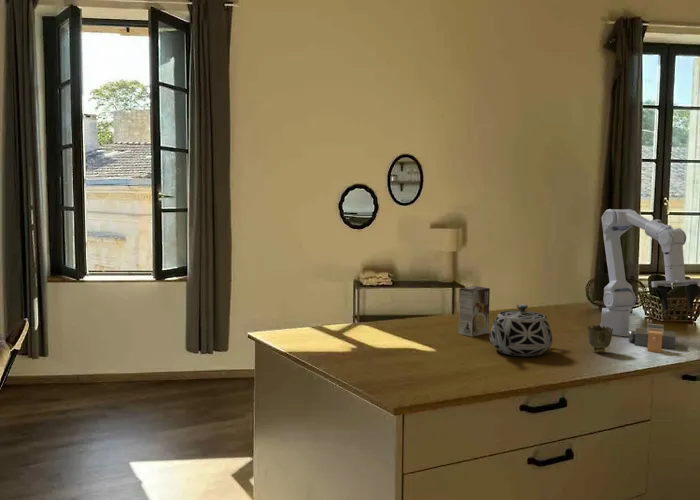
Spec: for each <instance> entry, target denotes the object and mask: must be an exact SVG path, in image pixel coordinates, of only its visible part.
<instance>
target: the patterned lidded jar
mask: <svg viewBox="0 0 700 500" xmlns="http://www.w3.org/2000/svg"><path fill="white" fill-rule="evenodd" d="M516 307H517V309H518V310H504V311H501V312H499V313H498V314H497V315H496V316H497V317H496V318H495V320H492V321H491V323H492V326H491V328H490V332H489V340H490V343H491V345H492V346H493V347H494V348H495V349H496V350H497V351H498V352H499V353H502V354H505V355H509V356H515V357H536V356H541V355H543V354H544V353H545V352H546V351H548V350H549V349H550V348H551V346H552V345H553V334H552V331H551V328H550V325H549V323H548V318H547V315H546V314H542V313H540V312H537V311H536V312H534V311H530V310H529V311H527V309H528V307H529V305H527V304H521V303H520V304H517V305H516Z"/></svg>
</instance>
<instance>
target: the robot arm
mask: <svg viewBox="0 0 700 500" xmlns="http://www.w3.org/2000/svg"><path fill="white" fill-rule="evenodd" d="M601 225H602V232H603V233H602V234H603V236H602V237H603V243H604V250H605V257H606V265H607V272H608V281H609V282H608V283H607V285H605V286H604V288H603V297H602V298H603V304H604V306H605V307H602V309H601V318H600V319H601V320H600V321H601V322H600V324H599V325H600V326H601V327H603V326H605V329H606V327H609V328H611V329H612V328H613V332H612V336H617V337H618V336H619V337H628V338H629V331H630V330H629V328H630V317H631V316H630V315H631V310H632V309H633V307H634V306H635V304H636V301H637V297H636V294H635V292H634V290H633V289H634V288H633V285H632V284H630V283H629V282H628V281H627V280H626V273H625V271H626V270H625V265H624V258H623V251H622V243H621V237H622V235H623V234H624V233H626V232H627V231H628V230H629V229H630V228H632V227H633V226H635V227H637V228H640V229H642V230H644V234H645V235H646V236H648V237H650V238H651V239H653V240H656V241H658V244H659V245H660V247H661V252H662V253H663V261H664V263H663V264H664V273H665V274H664V275H665V276H664V277H665V280H655V281H654V280H653V281H650V283H651V288H653V290H654V292H655V293H656V295H657V297H658V299H659V300H660V304H661V306H662V309H663V310H665V311H668V309H669V304H668V303H669V302H668V288H669V287H683V286H684V291H685V296H686V305H687V309H688V310H689V309H690V310H691V309H692V310H693V307H694V304H695V303H694V302H695V298H696V295H697V293H698V291H699V287H700V278H694V279H690V278H689V279H686V272H685V258H684V248H683V247H684V245H685V244H686V242H687V234H686V232H685V230H683V229H682V228H679V227H678V228H675V229H674V228H673V227H672V225H670V224H665V223H663V222H662V220H661V219H658V218H657V219H651V220H649V219H647V218H646V217H644V216H642V215H641V214H639V213H637V211H635V210H633V209H631V208H627V209H612V208H609V209H606V210H605V211H604V212H603V214H602V216H601ZM678 283H679V284H678Z"/></svg>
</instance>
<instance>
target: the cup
mask: <svg viewBox="0 0 700 500" xmlns="http://www.w3.org/2000/svg"><path fill="white" fill-rule="evenodd" d="M612 332H613V328H612V329H611V328H609V327H606V329H605V326H603V327H601V326H600V324H598V325H595V324H593V325H592V327H591V326H590V325H589V326H587V333H588V343H589V344H590V346H591V347H593V348H592V350H593V352H594V353H596V354H604V353H605V352H606V349H607V348H608V347H609V346H610V345H611V342H612V336H613V335H612Z"/></svg>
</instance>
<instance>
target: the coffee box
mask: <svg viewBox="0 0 700 500" xmlns="http://www.w3.org/2000/svg"><path fill="white" fill-rule="evenodd" d="M490 290H491V288H490V287H483V286H476V285H475V286H469V287H462V288H459V300H458V301H459V303H458V305H459V306H458V308H459V309H458V334H459V335H462V336H468V337H472V338H473V337H477V336H482V335H486V334H490V332H489V331H490V330H489V329H490V328H489V327H490V325H489V324H490V323H489V322H490V296H491V295H490V294H491V291H490Z"/></svg>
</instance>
